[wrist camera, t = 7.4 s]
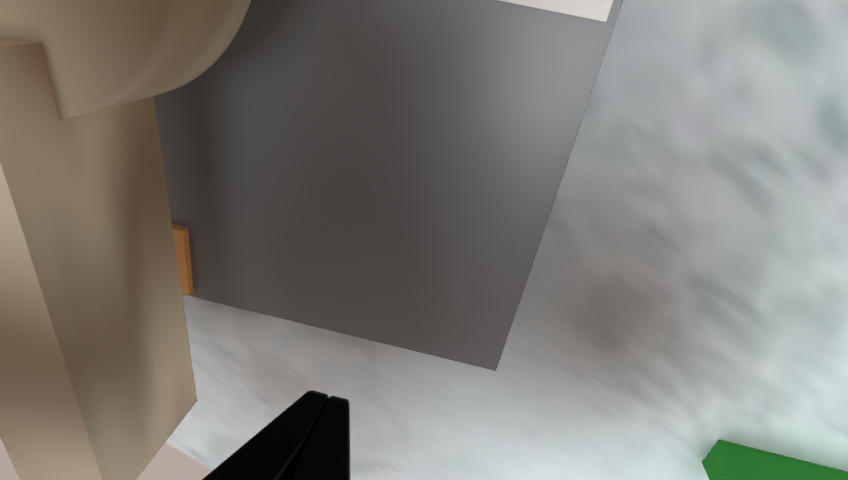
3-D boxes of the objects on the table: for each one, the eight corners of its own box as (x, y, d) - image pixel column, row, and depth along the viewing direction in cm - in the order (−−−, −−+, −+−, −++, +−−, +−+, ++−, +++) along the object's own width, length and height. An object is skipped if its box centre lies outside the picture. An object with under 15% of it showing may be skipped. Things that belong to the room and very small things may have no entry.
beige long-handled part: (-237, -474, 6) (-873, -883, 3) (253, -427, 5) (-1, -866, 3) (51, 367, 12) (-71, 464, 10) (275, 419, 12) (212, 536, 9)
